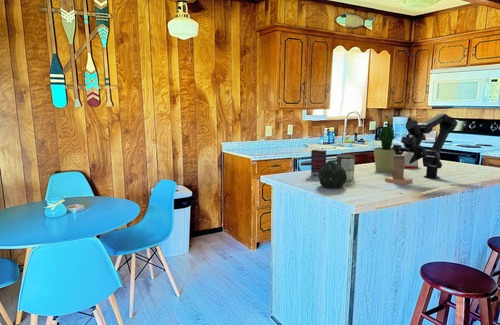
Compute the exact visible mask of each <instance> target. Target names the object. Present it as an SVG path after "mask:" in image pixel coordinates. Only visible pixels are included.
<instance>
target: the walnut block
mask: <svg viewBox="0 0 500 325" xmlns="http://www.w3.org/2000/svg"><path fill="white" fill-rule="evenodd" d="M404 161H405V155H394V164H393V172H392V177H393V178H396V179H403V177H405V176H404V173H405V168H404Z"/></svg>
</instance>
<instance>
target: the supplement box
mask: <svg viewBox="0 0 500 325" xmlns="http://www.w3.org/2000/svg"><path fill="white" fill-rule="evenodd" d="M310 156H311V158H310V159H311V160H310V161H311V162H310V163H311V164H310V166H311V167H310V168H311V169H310V170H311V171H310V174H311V175H310V176H313V175H318V176H319V172H320V170H321V168H322V167H323V166H324V165H325V164H326V163H327V150H326V149H325V150H324V149H311V154H310ZM318 176H317V177H318Z"/></svg>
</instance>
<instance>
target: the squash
mask: <svg viewBox="0 0 500 325" xmlns="http://www.w3.org/2000/svg"><path fill="white" fill-rule="evenodd" d="M317 178H318V180H319V184H320V185H321V186H322V187H324V188H328V189H330V188H333V189H337V188H338V189H339V188H342V187H343V186H344V184H346V182H347V181H346V179H347V176H346V172H345V170H344V169H343V168H342V167H341V166H340V165H338V164H337V162H334V161H332V160H327V161H326V164H325V165H324V166H323V167H322V168H321V170H320V172H319V176H317Z"/></svg>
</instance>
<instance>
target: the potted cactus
mask: <svg viewBox="0 0 500 325" xmlns="http://www.w3.org/2000/svg"><path fill="white" fill-rule="evenodd" d="M380 129H381V130H380V131H379V136H378V138H379V139H378V140H380V144H381V147H374V148H373V155H374V165H375V171H376V172H382V173H393V164H394V155H395V151H394V150H393V148H392V147H393V140H395V135H394V131H393V129H394V128H393V129H392V127H391V126H390V125H389V126H386V125H385V126H383V127H382V128H380Z"/></svg>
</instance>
